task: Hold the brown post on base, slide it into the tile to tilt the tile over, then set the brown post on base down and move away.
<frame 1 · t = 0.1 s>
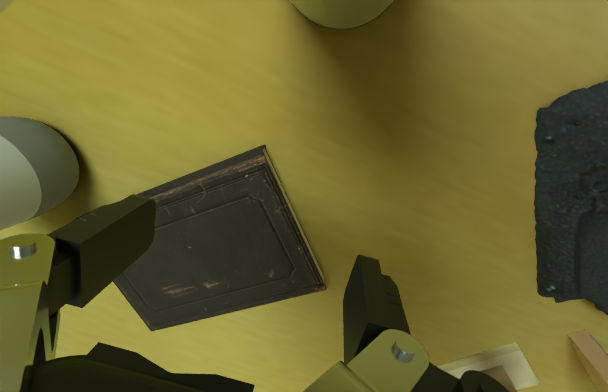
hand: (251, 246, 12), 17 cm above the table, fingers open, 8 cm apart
brown post on base: (485, 370, 36), on the table
tile: (587, 356, 34), on the table
hardcover book: (205, 243, 35), on the table
smart speaker: (49, 156, 32), on the table
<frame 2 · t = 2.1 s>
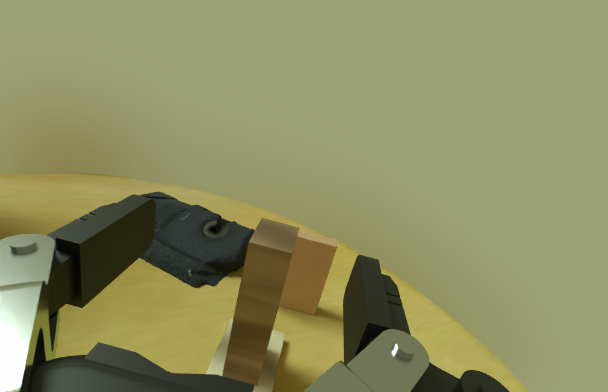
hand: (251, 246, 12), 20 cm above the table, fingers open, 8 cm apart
brown post on base: (244, 369, 29), on the table
tile: (284, 302, 39), on the table
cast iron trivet: (181, 239, 47), on the table
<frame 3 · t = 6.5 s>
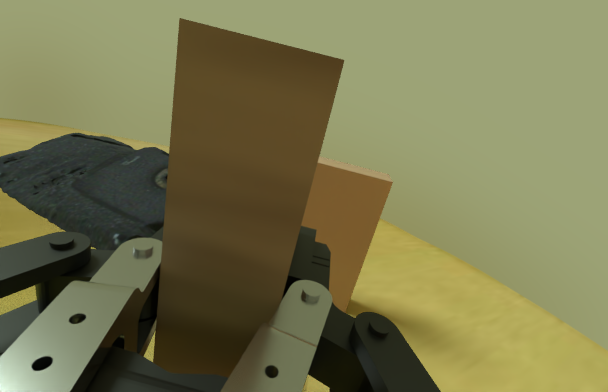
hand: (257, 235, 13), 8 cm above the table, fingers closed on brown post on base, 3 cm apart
tile: (291, 291, 23), on the table
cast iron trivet: (129, 198, 31), on the table
when the fingers open (9 cm above the table, at t = 13.9 s): brown post on base stays where it is, on the table.
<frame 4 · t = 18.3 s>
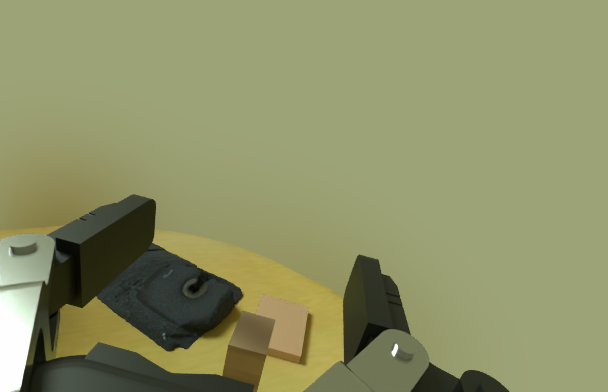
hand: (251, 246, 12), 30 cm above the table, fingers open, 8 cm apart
tile: (271, 352, 43), on the table, tilted 90°
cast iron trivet: (165, 293, 50), on the table
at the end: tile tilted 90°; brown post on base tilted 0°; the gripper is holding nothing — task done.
